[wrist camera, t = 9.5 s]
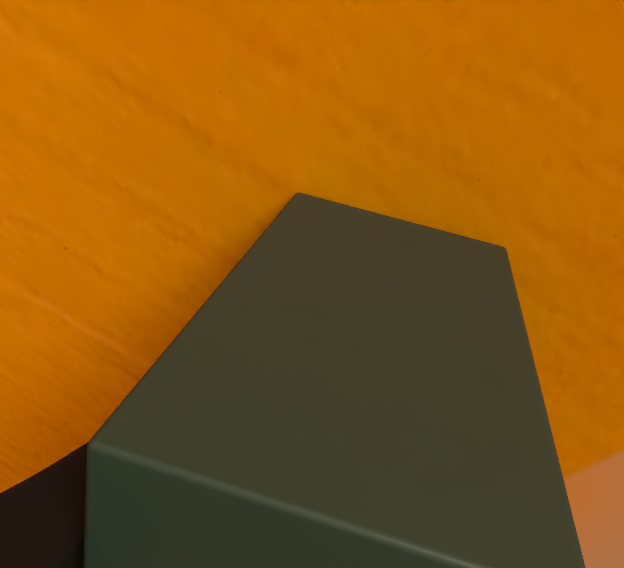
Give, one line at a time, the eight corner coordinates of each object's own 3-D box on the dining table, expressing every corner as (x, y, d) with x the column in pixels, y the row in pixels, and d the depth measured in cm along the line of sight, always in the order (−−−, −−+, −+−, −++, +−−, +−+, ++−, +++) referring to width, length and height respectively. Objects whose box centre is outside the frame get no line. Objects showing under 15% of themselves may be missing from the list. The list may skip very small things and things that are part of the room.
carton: (83, 442, 6) (77, 654, 7) (600, 608, 5) (470, 796, 7) (296, 190, 14) (270, 318, 15) (507, 246, 13) (457, 372, 15)
